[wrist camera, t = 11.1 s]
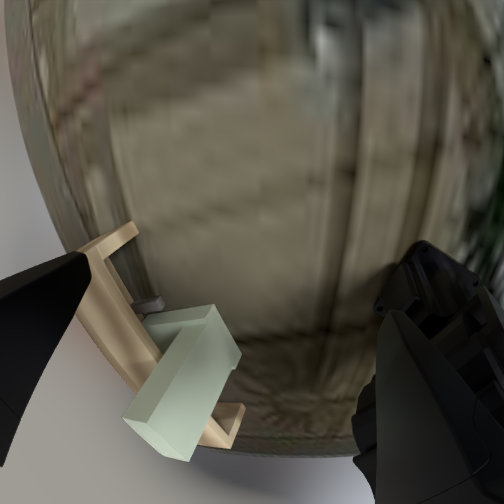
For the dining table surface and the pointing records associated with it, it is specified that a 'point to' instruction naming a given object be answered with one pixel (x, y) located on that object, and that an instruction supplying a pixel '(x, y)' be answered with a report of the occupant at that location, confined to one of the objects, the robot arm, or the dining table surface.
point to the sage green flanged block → (183, 379)
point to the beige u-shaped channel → (135, 331)
